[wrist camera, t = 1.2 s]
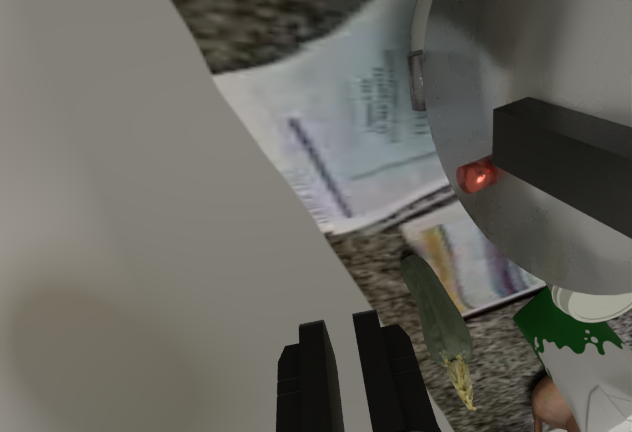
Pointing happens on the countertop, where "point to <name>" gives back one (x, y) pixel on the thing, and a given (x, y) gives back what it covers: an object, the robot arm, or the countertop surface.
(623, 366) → the milk carton
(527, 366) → the countertop surface
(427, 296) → the vegetable
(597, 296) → the coffee cup
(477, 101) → the cooker lid
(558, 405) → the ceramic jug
